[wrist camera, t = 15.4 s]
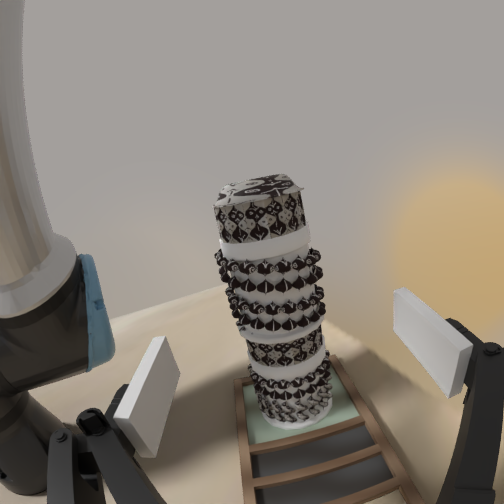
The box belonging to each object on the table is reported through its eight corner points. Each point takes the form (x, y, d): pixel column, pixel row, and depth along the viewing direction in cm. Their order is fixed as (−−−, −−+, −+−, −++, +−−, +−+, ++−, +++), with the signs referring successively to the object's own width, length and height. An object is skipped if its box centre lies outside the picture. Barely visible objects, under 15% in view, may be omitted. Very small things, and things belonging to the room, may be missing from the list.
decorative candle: (245, 398, 33) (189, 193, 27) (309, 369, 36) (275, 174, 30) (278, 445, 25) (214, 188, 19) (351, 405, 28) (328, 165, 22)
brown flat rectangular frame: (459, 575, 4) (464, 573, 4) (265, 639, 4) (262, 640, 4) (335, 360, 37) (335, 354, 37) (235, 385, 37) (233, 379, 37)
